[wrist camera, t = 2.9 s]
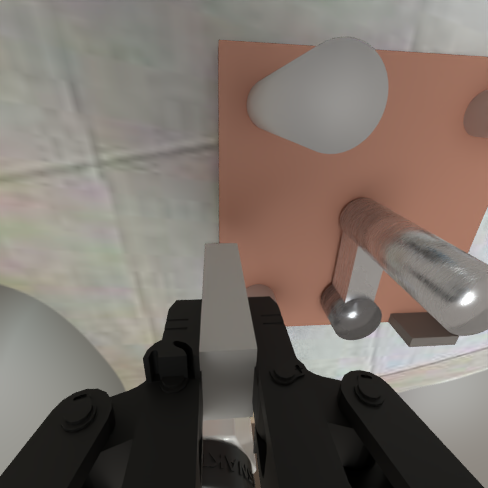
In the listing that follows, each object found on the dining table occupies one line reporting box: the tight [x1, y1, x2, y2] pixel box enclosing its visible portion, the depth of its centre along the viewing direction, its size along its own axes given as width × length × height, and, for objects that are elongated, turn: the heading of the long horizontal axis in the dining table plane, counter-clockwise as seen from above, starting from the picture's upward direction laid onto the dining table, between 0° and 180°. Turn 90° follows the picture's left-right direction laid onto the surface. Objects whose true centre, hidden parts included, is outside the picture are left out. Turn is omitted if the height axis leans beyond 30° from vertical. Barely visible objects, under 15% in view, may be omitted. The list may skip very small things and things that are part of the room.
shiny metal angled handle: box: [321, 198, 488, 340], centre depth 17 cm, size 10×4×10 cm, turn 178°
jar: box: [202, 417, 256, 488], centre depth 22 cm, size 9×8×12 cm
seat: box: [218, 37, 488, 347], centre depth 17 cm, size 20×20×12 cm
